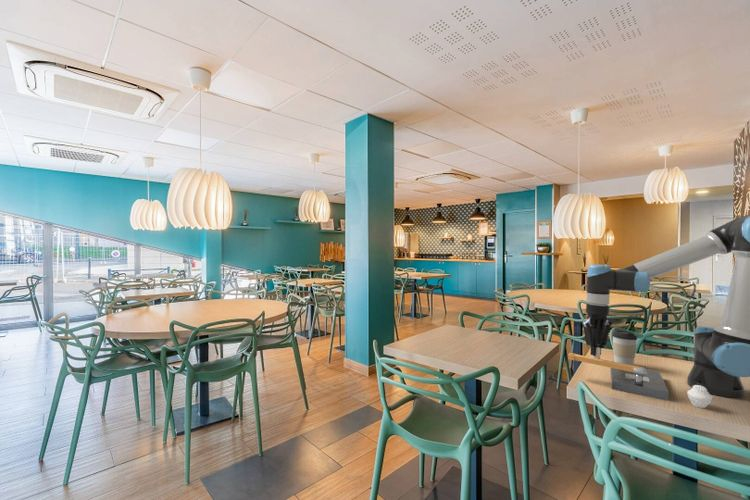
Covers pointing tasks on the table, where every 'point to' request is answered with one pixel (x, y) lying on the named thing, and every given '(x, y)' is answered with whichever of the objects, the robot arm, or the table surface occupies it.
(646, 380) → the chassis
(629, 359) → the coffee cup
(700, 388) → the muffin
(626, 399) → the table surface
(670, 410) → the table surface
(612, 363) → the swing arm
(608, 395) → the table surface
